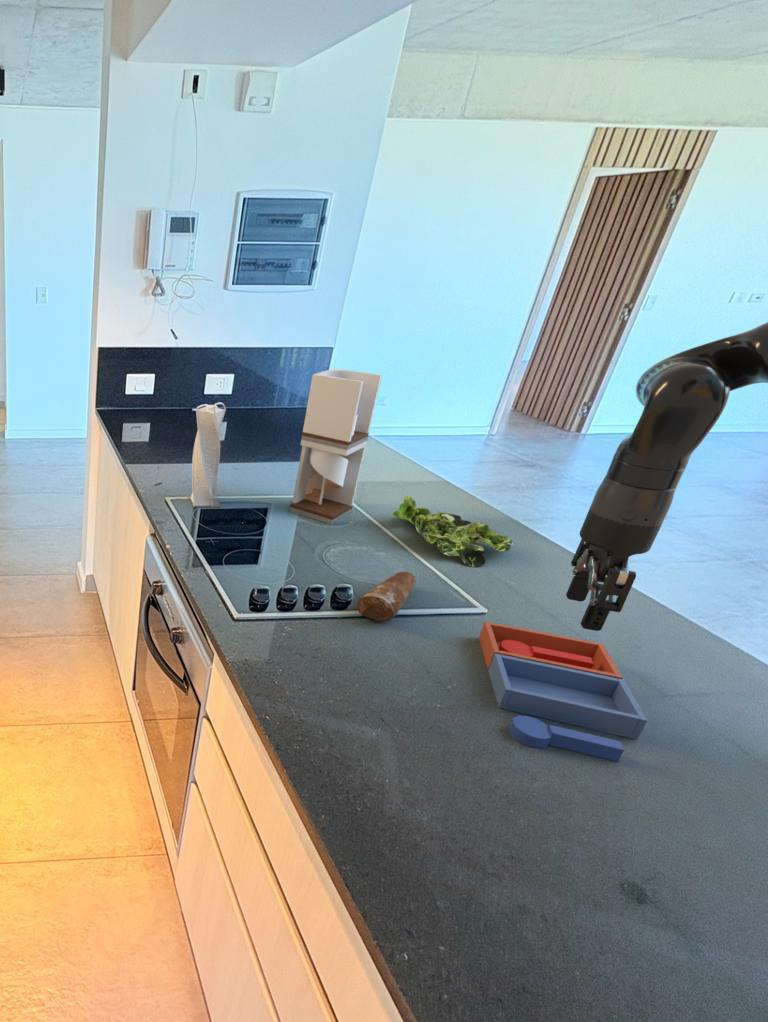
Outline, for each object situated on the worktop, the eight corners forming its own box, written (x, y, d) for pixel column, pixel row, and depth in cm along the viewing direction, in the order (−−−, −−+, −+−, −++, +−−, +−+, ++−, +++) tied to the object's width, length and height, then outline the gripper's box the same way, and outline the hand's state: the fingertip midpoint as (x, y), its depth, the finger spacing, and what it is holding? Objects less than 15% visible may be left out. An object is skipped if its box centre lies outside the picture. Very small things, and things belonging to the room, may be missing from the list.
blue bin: (614, 698, 95) (623, 679, 93) (637, 740, 87) (647, 720, 85) (487, 670, 101) (494, 653, 99) (498, 707, 93) (506, 689, 92)
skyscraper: (221, 509, 161) (234, 403, 149) (190, 509, 162) (200, 404, 149) (214, 497, 169) (225, 395, 156) (184, 497, 169) (193, 395, 157)
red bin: (594, 661, 103) (602, 643, 101) (613, 696, 95) (623, 678, 94) (478, 637, 109) (484, 621, 108) (487, 669, 101) (494, 651, 100)
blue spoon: (610, 746, 86) (616, 734, 85) (621, 769, 82) (628, 757, 81) (506, 721, 91) (510, 709, 90) (512, 742, 87) (517, 730, 86)
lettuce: (461, 570, 130) (475, 540, 127) (368, 519, 150) (378, 493, 147) (517, 564, 136) (532, 536, 133) (421, 517, 157) (432, 491, 154)
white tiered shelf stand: (288, 510, 160) (312, 374, 144) (309, 500, 166) (334, 368, 151) (331, 524, 152) (361, 381, 137) (351, 512, 158) (381, 374, 143)
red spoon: (583, 663, 102) (588, 652, 101) (591, 679, 98) (597, 668, 97) (495, 645, 106) (499, 635, 105) (500, 660, 102) (504, 650, 101)
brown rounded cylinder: (352, 617, 116) (358, 592, 113) (391, 581, 127) (397, 557, 125) (387, 631, 111) (394, 605, 109) (424, 592, 123) (432, 568, 120)
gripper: (683, 538, 75) (630, 646, 83) (644, 497, 87) (600, 595, 94) (606, 528, 78) (561, 632, 86) (578, 489, 90) (540, 585, 97)
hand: (581, 613), depth 90 cm, fingers open, 8 cm apart
